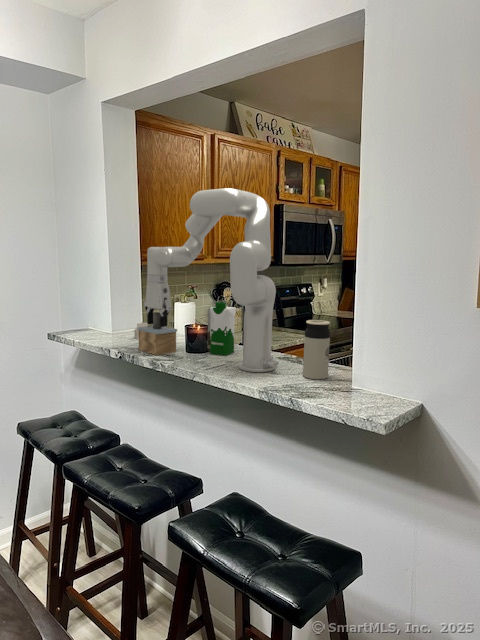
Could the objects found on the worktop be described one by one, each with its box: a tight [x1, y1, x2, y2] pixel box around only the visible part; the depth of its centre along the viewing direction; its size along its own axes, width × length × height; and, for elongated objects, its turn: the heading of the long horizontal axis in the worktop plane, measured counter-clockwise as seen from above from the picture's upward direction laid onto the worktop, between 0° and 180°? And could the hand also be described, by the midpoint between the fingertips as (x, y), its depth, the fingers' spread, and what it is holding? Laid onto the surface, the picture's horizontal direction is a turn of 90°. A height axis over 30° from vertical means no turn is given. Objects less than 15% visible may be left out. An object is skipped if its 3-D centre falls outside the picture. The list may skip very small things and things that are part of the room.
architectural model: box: [132, 322, 149, 340], centre depth 211 cm, size 3×7×7 cm, turn 134°
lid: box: [138, 311, 178, 334], centre depth 183 cm, size 13×10×8 cm
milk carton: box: [209, 301, 237, 357], centre depth 183 cm, size 9×9×20 cm
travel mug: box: [302, 319, 331, 381], centre depth 151 cm, size 8×8×18 cm
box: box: [138, 330, 177, 356], centre depth 184 cm, size 12×9×8 cm
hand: (157, 324), depth 183 cm, fingers open, 7 cm apart
